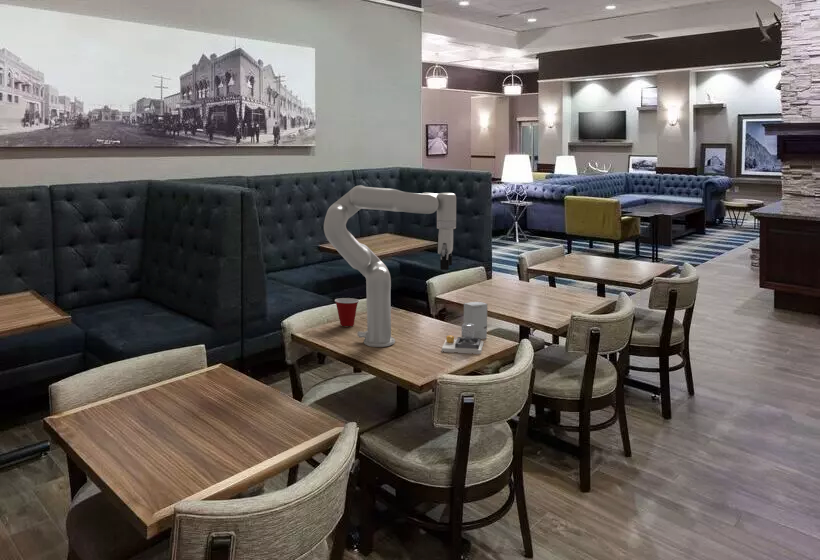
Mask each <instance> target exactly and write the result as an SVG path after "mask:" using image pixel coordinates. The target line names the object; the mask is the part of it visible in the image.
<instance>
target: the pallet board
mask: <svg viewBox="0 0 820 560" xmlns="http://www.w3.org/2000/svg"><path fill="white" fill-rule="evenodd" d="M461 339H462V336H458V337H457V339H455V338H454V342H451V343H449V342H446V339H445V340H444V343H443V344H442V347H441V352H442V353H454V352H458V354H472V353H473V355H474V354H475V355H476V354H477V355H481V354H482V351H483V348H482V347H484V340H482V339H481V338H474V344H463V343H461ZM443 351H444V352H443Z"/></svg>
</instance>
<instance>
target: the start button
mask: <svg viewBox="0 0 820 560" xmlns="http://www.w3.org/2000/svg"><path fill="white" fill-rule="evenodd" d="M454 339H455V335H451V334H450V335H449V334H448V335H446V339H445V340H446V342H449V343H451V342H454Z"/></svg>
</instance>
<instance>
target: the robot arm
mask: <svg viewBox="0 0 820 560" xmlns="http://www.w3.org/2000/svg"><path fill="white" fill-rule="evenodd" d="M361 210H376V211H377V210H378V211H389V212H395V213H397V212H401V213H402V212H404V213H412V214H424V215H426V214H427V215H430V214H434V213H435V212H436V229H438V239H437V240H438V242H437V254H439V255H440V260H439V261H440V270H441V271H448V270H449V266H452V265H453V254H452V252H453V251H454V230H455V229H456V228H457V196H456V193H453V192H440V193H438V192H437V193H434V192H426V191H425V192H422V193H417V192H410V191H409V192H408V191H402V190H400V189H395V188H387V187H386V188H385V187H373V186H365V185H356V186H354V187H352V188H351V189H350V190H349V191H348V192H346V193H344V195H343V196H341V197H340V198H339V199H337V201H336V200H335V202H334V203H332V204H331V205H330V206H329V208H328V209H327V211H326V214H325V217H324V222H323V233H324V235H325V237H326V239H327V241H328V242H329V244H330V245H332V247H333V248H334V249H335V250H336V251H337V252H338V254H339V255H340V256H341V257H342V258H343V259H344V260H345V262H347V263H348V265H349V266H350V267H351V268H352V269H353V270H357V271H358V272H360V274H362V277H365V280H366V281H365V283H366V287H365V288H366V290H365V291H366V323H367V325H366V326H367V327H366V329H367V330H365V331H357V332H356V333H357V337H358V338H362V339H363V344H364V345H365V346H368V347H371V348H372V347H373V348H384V347H391V346H392V345H395V343H396V340H395V338H394V337H393V336H392V316H391V315H392V312H391V311H392V309H391V308H392V307H391V304H392V303H391V289H392V288H391V287H392V280H391V279H392V277H391V273H390V271H389V269H388V267H387V265H386V264H385V263H384V262H383V261H382V260H381V259H380V258H379V257H378V256H377V255H376V254H375V252H373V251H372V249H370V247H368V245H366V244H364V243H361V242H360V241H358V239H357V238H355V236H354V235H353V234H352V233H351V232H350V231H349V230H348V228H347V223H348V221H349V219H351V217H353V216H354V215H355V214H356V213H358V211H361Z"/></svg>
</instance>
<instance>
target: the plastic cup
mask: <svg viewBox="0 0 820 560" xmlns="http://www.w3.org/2000/svg"><path fill="white" fill-rule="evenodd" d="M359 302H360V299H357V298H350V297H342V298H336V299H334V303H335V305H336V309H337V314H338V319H339V324H340V326H341V325H342V326H352V327H354V326H355V319H356V314H357V309H358V308H357V307H358V304H359ZM353 325H354V326H353ZM342 326H341V327H342Z"/></svg>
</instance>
